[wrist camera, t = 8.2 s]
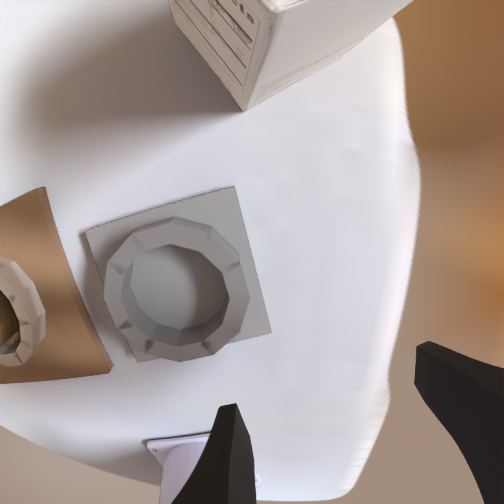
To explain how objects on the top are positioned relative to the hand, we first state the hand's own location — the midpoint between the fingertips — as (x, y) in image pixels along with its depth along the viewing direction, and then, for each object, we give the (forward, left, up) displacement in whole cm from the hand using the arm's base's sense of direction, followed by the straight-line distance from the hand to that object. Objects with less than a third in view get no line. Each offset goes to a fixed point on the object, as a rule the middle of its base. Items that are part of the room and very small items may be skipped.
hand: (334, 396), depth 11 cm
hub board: (+4, +20, -9) cm, 22 cm away
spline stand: (+3, +6, -9) cm, 12 cm away
